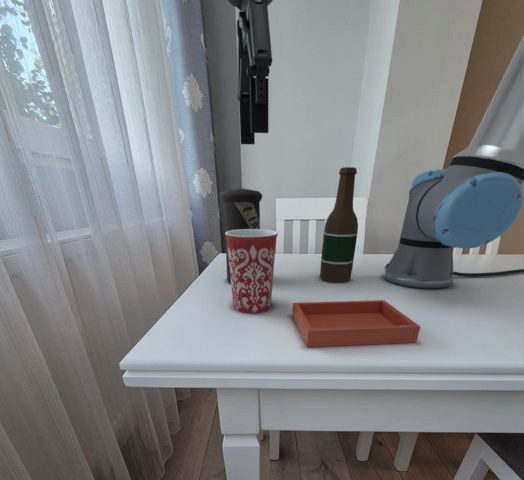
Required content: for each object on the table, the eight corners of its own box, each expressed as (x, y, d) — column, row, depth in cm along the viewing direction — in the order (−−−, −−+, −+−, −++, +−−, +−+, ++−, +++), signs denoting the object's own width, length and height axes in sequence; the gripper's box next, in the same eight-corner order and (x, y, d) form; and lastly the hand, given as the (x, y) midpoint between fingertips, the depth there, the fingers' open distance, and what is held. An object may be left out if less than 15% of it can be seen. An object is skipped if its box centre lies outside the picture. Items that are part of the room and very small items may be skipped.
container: (255, 287, 68) (254, 188, 58) (219, 284, 70) (213, 188, 60) (266, 278, 75) (267, 188, 65) (234, 275, 77) (230, 188, 68)
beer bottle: (313, 276, 76) (322, 168, 64) (338, 273, 79) (351, 168, 67) (330, 284, 70) (344, 165, 58) (357, 281, 73) (375, 167, 61)
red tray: (381, 313, 54) (384, 300, 52) (416, 342, 44) (420, 326, 42) (292, 316, 52) (292, 302, 51) (306, 347, 42) (308, 331, 41)
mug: (280, 313, 53) (282, 235, 47) (230, 316, 52) (226, 236, 46) (268, 292, 64) (269, 226, 58) (227, 294, 63) (223, 227, 57)
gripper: (218, 4, 53) (226, 147, 63) (231, -124, 31) (240, 125, 41) (259, 8, 54) (261, 147, 64) (299, -113, 32) (292, 126, 43)
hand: (253, 139), depth 53 cm, fingers open, 13 cm apart
